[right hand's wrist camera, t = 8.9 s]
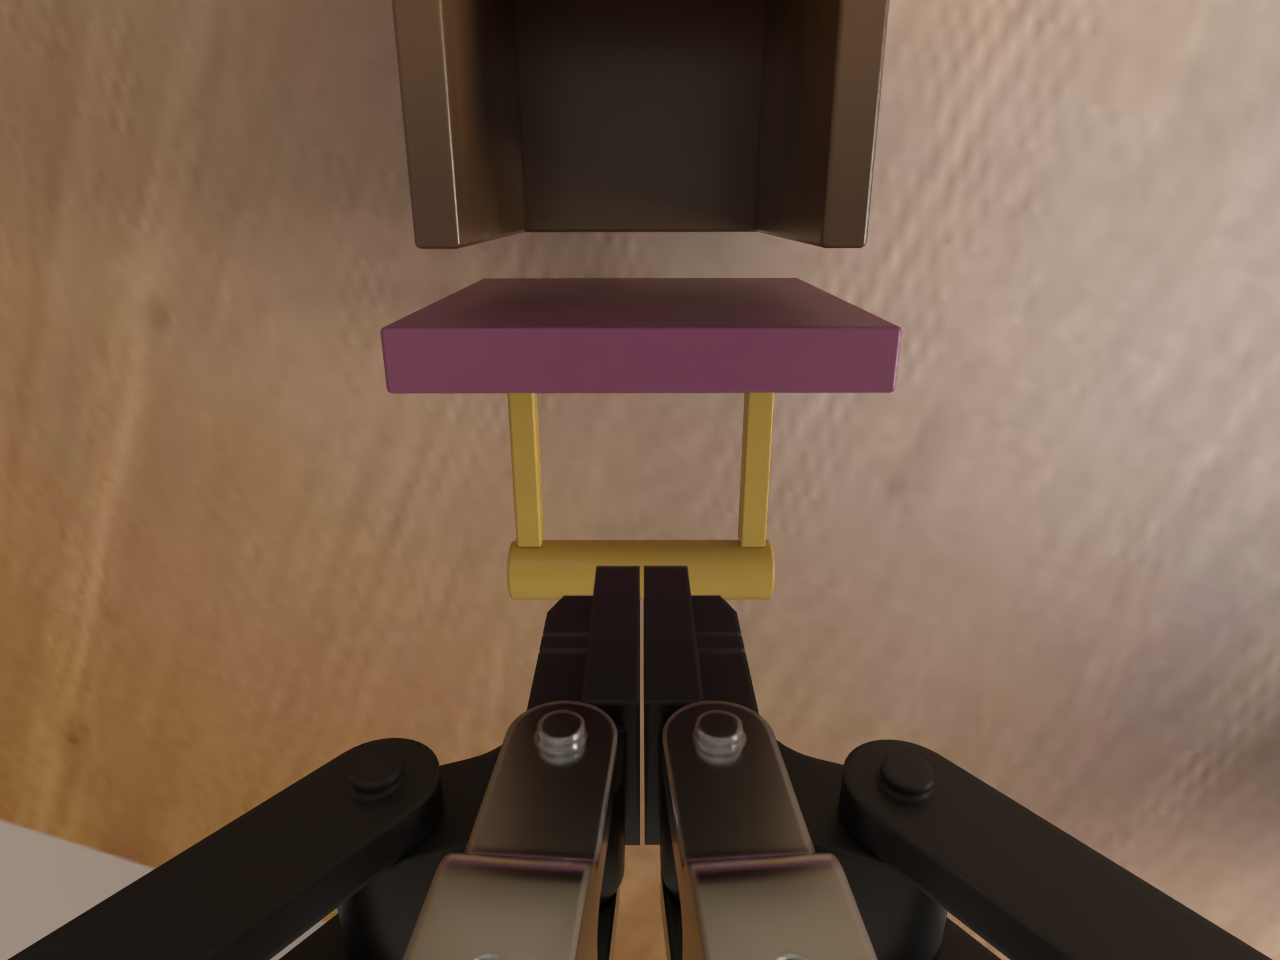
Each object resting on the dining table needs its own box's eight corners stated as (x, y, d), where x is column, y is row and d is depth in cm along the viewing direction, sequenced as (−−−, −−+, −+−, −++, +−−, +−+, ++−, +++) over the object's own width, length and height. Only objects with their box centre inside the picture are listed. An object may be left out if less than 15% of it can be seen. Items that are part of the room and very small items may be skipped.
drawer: (783, 508, 25) (864, 678, 16) (497, 509, 25) (418, 679, 16) (860, -642, 16) (1134, -1685, 7) (418, -641, 16) (145, -1681, 7)
